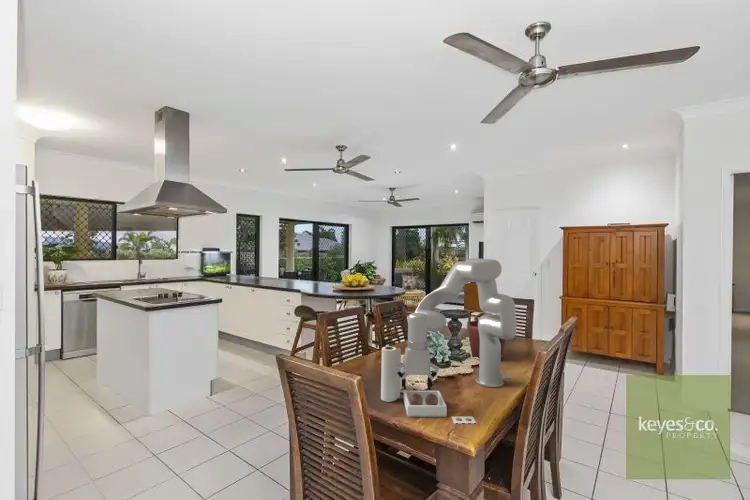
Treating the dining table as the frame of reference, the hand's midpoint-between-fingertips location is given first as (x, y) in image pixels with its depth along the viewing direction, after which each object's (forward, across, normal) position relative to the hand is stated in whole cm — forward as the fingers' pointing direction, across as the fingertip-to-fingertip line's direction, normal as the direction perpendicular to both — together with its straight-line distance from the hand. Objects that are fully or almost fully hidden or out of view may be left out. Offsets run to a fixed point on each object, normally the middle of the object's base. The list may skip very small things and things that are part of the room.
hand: (416, 388), depth 145 cm
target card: (+8, -16, +10) cm, 20 cm away
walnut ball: (+5, 0, 0) cm, 5 cm away
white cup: (+8, +7, -20) cm, 23 cm away
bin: (+8, -3, 0) cm, 8 cm away
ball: (+5, -6, 0) cm, 8 cm away
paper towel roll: (+8, +10, -8) cm, 15 cm away
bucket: (+8, -50, -67) cm, 84 cm away
